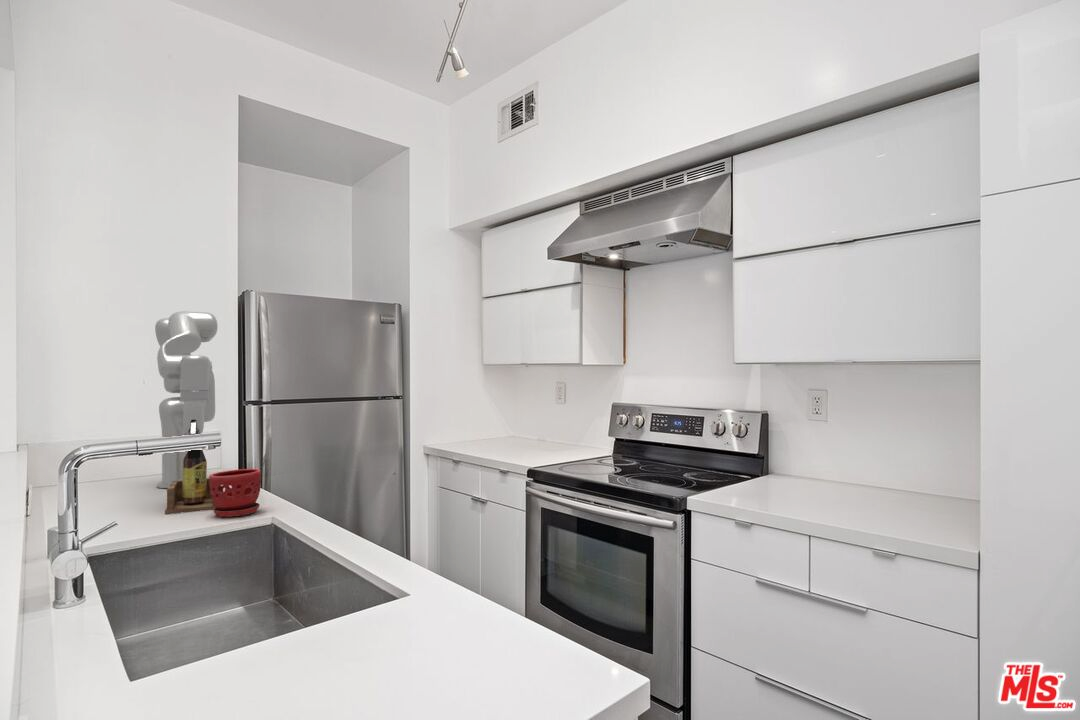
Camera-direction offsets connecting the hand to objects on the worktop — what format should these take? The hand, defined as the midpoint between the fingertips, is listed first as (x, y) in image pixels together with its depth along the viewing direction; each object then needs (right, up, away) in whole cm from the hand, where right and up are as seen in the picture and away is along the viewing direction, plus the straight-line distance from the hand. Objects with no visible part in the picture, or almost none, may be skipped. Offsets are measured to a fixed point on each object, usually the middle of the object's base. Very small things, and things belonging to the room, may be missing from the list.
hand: (194, 456), depth 176 cm
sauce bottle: (0, -14, 0) cm, 14 cm away
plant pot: (+17, -15, -9) cm, 25 cm away
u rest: (0, -15, 0) cm, 15 cm away
